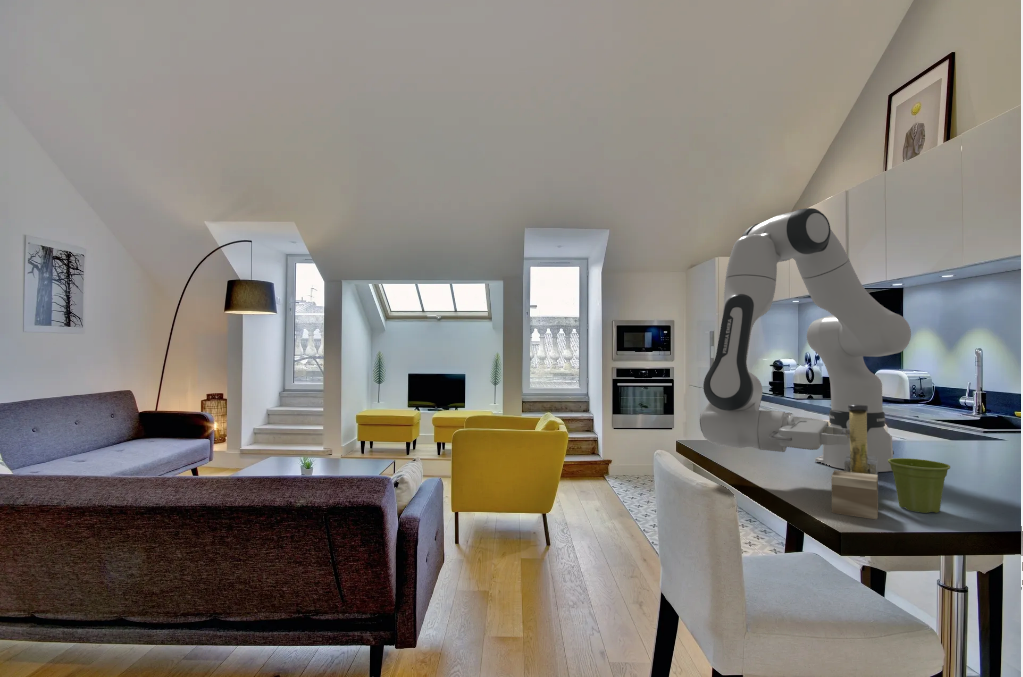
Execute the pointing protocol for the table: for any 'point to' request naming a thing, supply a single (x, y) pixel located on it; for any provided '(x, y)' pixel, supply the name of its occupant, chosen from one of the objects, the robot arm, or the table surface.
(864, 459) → the slip tube
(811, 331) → the robot arm
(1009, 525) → the table surface
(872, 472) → the sleeve
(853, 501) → the socket block
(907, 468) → the plant pot
